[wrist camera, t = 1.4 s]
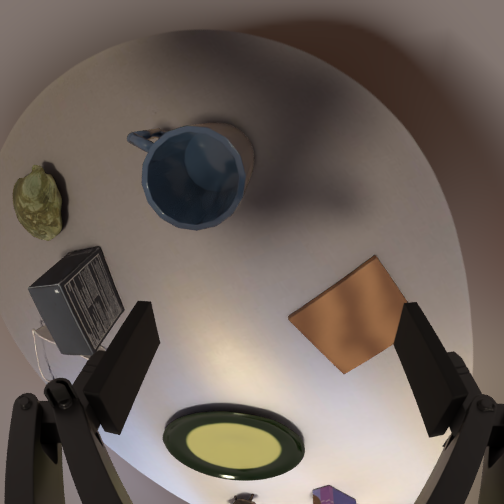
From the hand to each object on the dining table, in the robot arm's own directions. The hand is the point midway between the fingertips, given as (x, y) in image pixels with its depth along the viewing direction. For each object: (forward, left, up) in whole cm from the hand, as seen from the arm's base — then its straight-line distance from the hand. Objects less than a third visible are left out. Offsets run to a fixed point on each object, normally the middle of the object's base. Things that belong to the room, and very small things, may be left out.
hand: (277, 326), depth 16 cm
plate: (+37, +32, -23) cm, 53 cm away
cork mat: (+2, +20, -23) cm, 30 cm away
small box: (+27, -8, -23) cm, 36 cm away
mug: (+2, -10, -23) cm, 25 cm away
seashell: (+24, -22, -23) cm, 40 cm away
